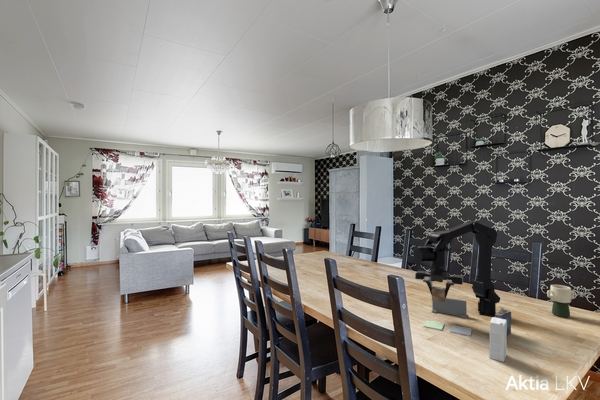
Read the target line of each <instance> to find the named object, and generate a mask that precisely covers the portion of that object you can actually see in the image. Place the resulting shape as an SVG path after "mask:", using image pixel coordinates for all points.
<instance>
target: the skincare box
mask: <svg viewBox="0 0 600 400" xmlns="http://www.w3.org/2000/svg"><path fill="white" fill-rule="evenodd" d="M507 338H508V336H507V320H505V319H500V318H495V317H494V316H491V320H490V322H489V341H488V342H489V343H488V344H489V348H488V349H489V350H488V355H489V356H488V357H489V358H490V359H492V360H494V361H499V362H502V363H504V362H505V360H506V357H507Z"/></svg>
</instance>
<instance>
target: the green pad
mask: <svg viewBox="0 0 600 400" xmlns="http://www.w3.org/2000/svg"><path fill="white" fill-rule="evenodd" d="M444 326H445V323H444V322H443V323H442V322H439V321H433V320H428V319H426V320H425V322H424V324H423V327H424V328H428V329H433V330H437V331H443V330H444Z"/></svg>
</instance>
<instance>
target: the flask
mask: <svg viewBox="0 0 600 400" xmlns="http://www.w3.org/2000/svg"><path fill="white" fill-rule="evenodd" d="M498 308H499V311H496V314H495V318H500V319H505V320H507V337H508V336H510V335H512V311H511V310H510V309H509V310H508V309H505V308H504V307H502V306H500V307H498Z"/></svg>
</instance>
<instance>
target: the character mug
mask: <svg viewBox="0 0 600 400" xmlns="http://www.w3.org/2000/svg"><path fill="white" fill-rule="evenodd" d="M549 288H550V289H549V290H547V292H546V293H547V294H546V295H547V298H549V299H551V301H553V303H552V308H551V314H554V315H556V316H559V317H564V318H569V317H570V316H571V311H570V306H569V304H570V303H571V302H572V299H574V298H575V291H574V290H572V288H571V287H570V286H567V285H562V284H550V287H549Z"/></svg>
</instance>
